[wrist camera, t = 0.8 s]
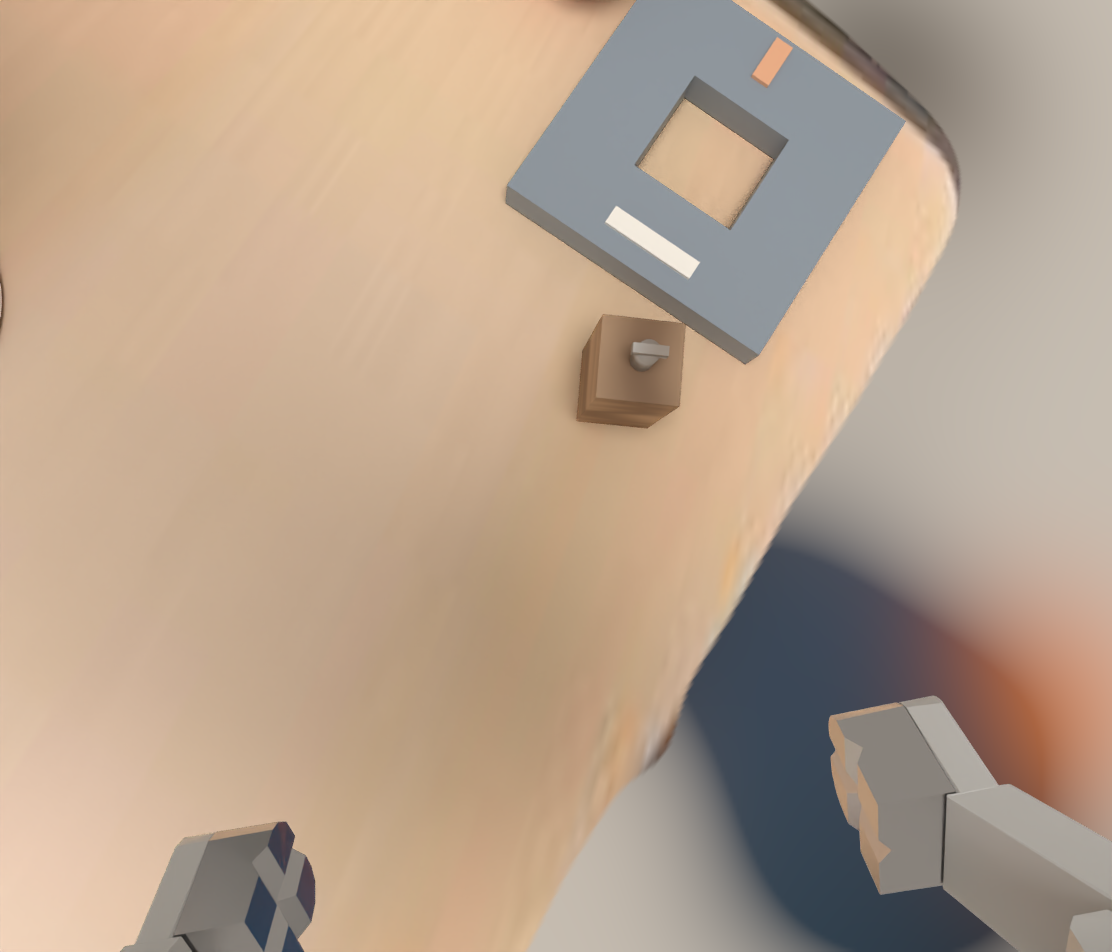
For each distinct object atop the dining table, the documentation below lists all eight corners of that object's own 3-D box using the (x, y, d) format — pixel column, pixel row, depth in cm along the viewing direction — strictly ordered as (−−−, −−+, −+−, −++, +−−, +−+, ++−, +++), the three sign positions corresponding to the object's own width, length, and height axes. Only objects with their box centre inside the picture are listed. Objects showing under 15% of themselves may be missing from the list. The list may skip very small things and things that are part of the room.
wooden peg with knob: (576, 420, 50) (603, 388, 39) (582, 350, 50) (610, 300, 40) (646, 428, 50) (692, 397, 40) (652, 358, 50) (698, 310, 40)
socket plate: (505, 203, 50) (507, 183, 47) (658, -16, 52) (668, -48, 50) (745, 364, 51) (760, 353, 48) (885, 140, 53) (908, 118, 50)
